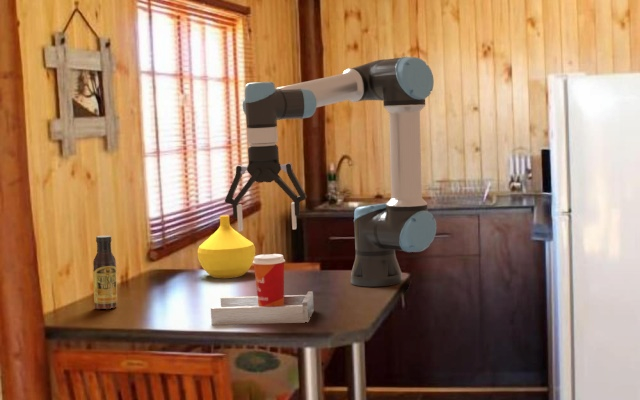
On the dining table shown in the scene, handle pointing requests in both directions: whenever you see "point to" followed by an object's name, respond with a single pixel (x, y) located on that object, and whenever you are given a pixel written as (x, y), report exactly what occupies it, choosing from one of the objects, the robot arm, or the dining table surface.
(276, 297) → the coffee cup
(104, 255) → the sauce bottle
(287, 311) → the channel
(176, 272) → the dining table surface
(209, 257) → the vase
